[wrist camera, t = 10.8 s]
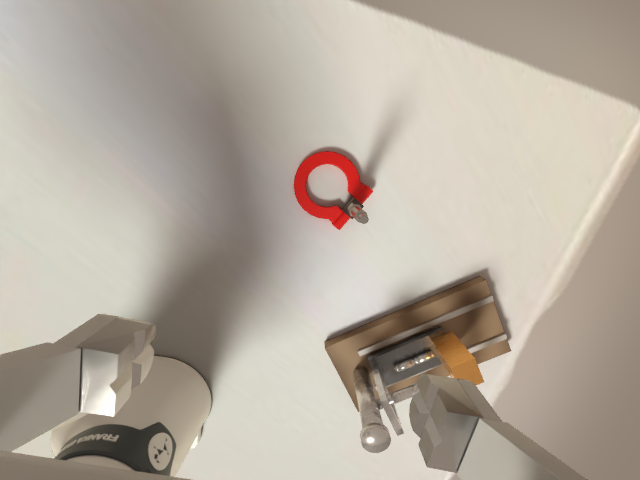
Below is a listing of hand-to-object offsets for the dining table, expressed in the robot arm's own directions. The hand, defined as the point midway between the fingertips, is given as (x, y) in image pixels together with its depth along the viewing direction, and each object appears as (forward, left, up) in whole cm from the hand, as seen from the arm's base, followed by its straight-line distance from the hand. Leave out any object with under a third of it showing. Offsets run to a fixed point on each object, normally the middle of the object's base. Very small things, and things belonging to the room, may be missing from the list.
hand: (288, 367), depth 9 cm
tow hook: (+4, +2, -31) cm, 32 cm away
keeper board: (+6, -24, -31) cm, 40 cm away
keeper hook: (0, -24, -30) cm, 38 cm away
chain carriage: (+5, -24, -29) cm, 38 cm away
